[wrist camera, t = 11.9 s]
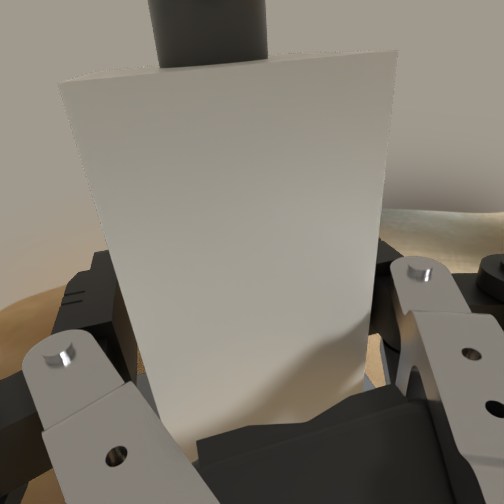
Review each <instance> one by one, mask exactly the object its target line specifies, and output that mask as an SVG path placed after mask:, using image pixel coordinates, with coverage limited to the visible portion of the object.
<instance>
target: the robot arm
mask: <svg viewBox="0 0 504 504" xmlns="http://www.w3.org/2000/svg"><path fill="white" fill-rule="evenodd" d="M376 333H379V335H380V336H381V341H380V353H381V358H382V364H383V370H384V375H385V381H386V385H385V386H382V387H379V388H375V389H372V390H368V391H365V392H361V393H358V394H355V395H351V396H349V397H347V398H345V399H344V400H342V401H340V402H339V403H337V404H336V405H334V406H332V407H331V408H329V409H327V410H326V411H324V412H322V413H321V414H319V415H318V416H316V417H314V418H313V419H311V420H309V421H307V422H303V423H286V424H266V425H248V426H245V427H241V428H238V429H234V430H231V431H228V432H224V433H221V434H217V435H214V436H210V437H207V438H204V439H200V440H197V441H196V445H197V452H198V459H197V460H196V461H194V462H192V463H191V462H190V461H189V460H188V458H187V457H186V455H185V454H184V453H183V451H182V450H181V449H180V447H179V446H178V444H177V443H176V442H175V440H174V439H173V437H172V436H171V435H170V433H169V432H168V430H167V429H166V428H165V426H164V425H163V423H162V422H161V421H160V419H159V418H158V417H157V415H156V414H155V412H154V411H153V410H152V408H151V407H150V405H149V404H148V403H147V401H146V400H145V398H144V397H143V396H142V394H141V393H140V392H139V390H138V389H137V341H136V338H135V335H134V331H133V328H132V325H131V322H130V318H129V315H128V312H127V309H126V305H125V302H124V299H123V295H122V292H121V289H120V286H119V282H118V279H117V276H116V273H115V269H114V266H113V263H112V260H111V256H110V253H109V250H105V251H99V252H95V253H94V256H93V260H92V264H91V269H90V270H87V271H82V272H78V273H77V274H76V275H75V276H74V277H73V278H72V279H71V280H70V281H69V282H68V284H67V287H66V290H65V293H64V297H63V299H62V302H61V306H60V308H59V311H58V314H57V318H56V321H55V324H54V327H53V330H52V333H51V336H49V337H47V338H45V339H43V340H42V341H40V342H39V343H37V344H36V345H35V346H34V347H32V348H31V349H30V350H29V352H28V353H27V354H26V355H25V357H24V359H23V361H22V370H21V371H19V372H17V373H16V374H13V375H11V376H9V377H7V378H5V379H2V380H0V504H20V503H21V500H22V498H23V496H24V493H25V491H26V488H27V485H28V482H29V481H31V480H32V479H34V478H36V477H38V476H39V475H41V474H43V473H45V472H46V471H48V470H50V469H52V468H54V471H55V474H56V477H57V480H58V482H59V485H60V488H61V491H62V493H63V496H64V499H65V502H66V504H504V254H496V255H490V256H487V257H484V258H483V259H482V260H481V263H480V266H479V270H478V273H455V274H451V273H450V271H449V270H448V268H447V267H446V266H444V265H443V264H442V263H440V262H438V261H435V260H433V259H430V258H425V257H419V256H407V257H404V256H403V255H401V254H400V253H399V252H397V251H396V250H395V249H393V248H392V247H391V246H389V245H388V244H387V243H386V242H384V241H381V239H380V238H378V247H377V257H376V267H375V276H374V286H373V295H372V305H371V314H370V324H369V333H368V336H369V335H372V334H376Z"/></svg>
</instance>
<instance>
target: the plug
mask: <svg viewBox="0 0 504 504" xmlns="http://www.w3.org/2000/svg"><path fill="white" fill-rule="evenodd" d="M148 5H149V10H150V16H151V21H152V27H153V33H154V38H155V44H156V50H157V55H158V61H159V65H158V66H146V67H137V68H125V69H114V70H103V71H97V72H93V73H90V74H86V75H82V76H79V77H75V78H72V79H69V80H65V81H62V82H58V87H59V90H60V93H61V97H62V100H63V103H64V106H65V109H66V113H67V116H68V119H69V123H70V126H71V129H72V132H73V136H74V139H75V142H76V146H77V149H78V152H79V155H80V158H81V162H82V165H83V168H84V171H85V175H86V178H87V181H88V185H89V188H90V191H91V194H92V198H93V201H94V204H95V207H96V211H97V214H98V217H99V220H100V224H101V227H102V230H103V234H104V237H105V240H106V243H107V246H108V250H109V253H110V256H111V260H112V263H113V266H114V269H115V273H116V276H117V279H118V282H119V286H120V289H121V292H122V295H123V299H124V302H125V305H126V309H127V312H128V315H129V318H130V322H131V325H132V328H133V331H134V335H135V338H136V341H137V344H138V348H139V351H140V354H141V357H142V361H143V364H144V367H145V370H146V374H147V377H148V380H149V383H150V387H151V390H152V393H153V397H154V400H155V403H156V406H157V410H158V413H159V416H160V419H161V422H162V423H163V425H164V426H165V428H166V429H167V430H168V432H169V433H170V435H171V436H172V437H173V439H174V440H175V442H176V443H177V444H178V446H179V447H180V449H181V450H182V451H183V453H184V454H185V455H186V457H187V458H188V460H189V461H190V462H191V463H192V462H194V461H196V460H197V459H198V452H197V445H196V441H197V440H200V439H204V438H207V437H210V436H214V435H217V434H221V433H224V432H228V431H231V430H234V429H238V428H241V427H245V426H248V425H266V424H286V423H303V422H307V421H309V420H311V419H313V418H314V417H316V416H318V415H319V414H321V413H322V412H324V411H326V410H327V409H329V408H331V407H332V406H334V405H336V404H337V403H339V402H340V401H342V400H344V399H345V398H347V397H349V396H351V395H355V394H358V393H361V392H362V391H363V381H364V372H365V362H366V352H367V343H368V333H369V324H370V314H371V305H372V295H373V286H374V276H375V267H376V257H377V247H378V238H379V228H380V219H381V209H382V199H383V190H384V181H385V180H384V179H385V171H386V161H387V152H388V142H389V133H390V123H391V114H392V104H393V95H394V84H395V76H396V66H397V57H398V50H388V51H387V50H386V51H352V52H320V53H288V54H277V55H268V51H267V50H268V49H267V28H266V7H265V0H148Z"/></svg>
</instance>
